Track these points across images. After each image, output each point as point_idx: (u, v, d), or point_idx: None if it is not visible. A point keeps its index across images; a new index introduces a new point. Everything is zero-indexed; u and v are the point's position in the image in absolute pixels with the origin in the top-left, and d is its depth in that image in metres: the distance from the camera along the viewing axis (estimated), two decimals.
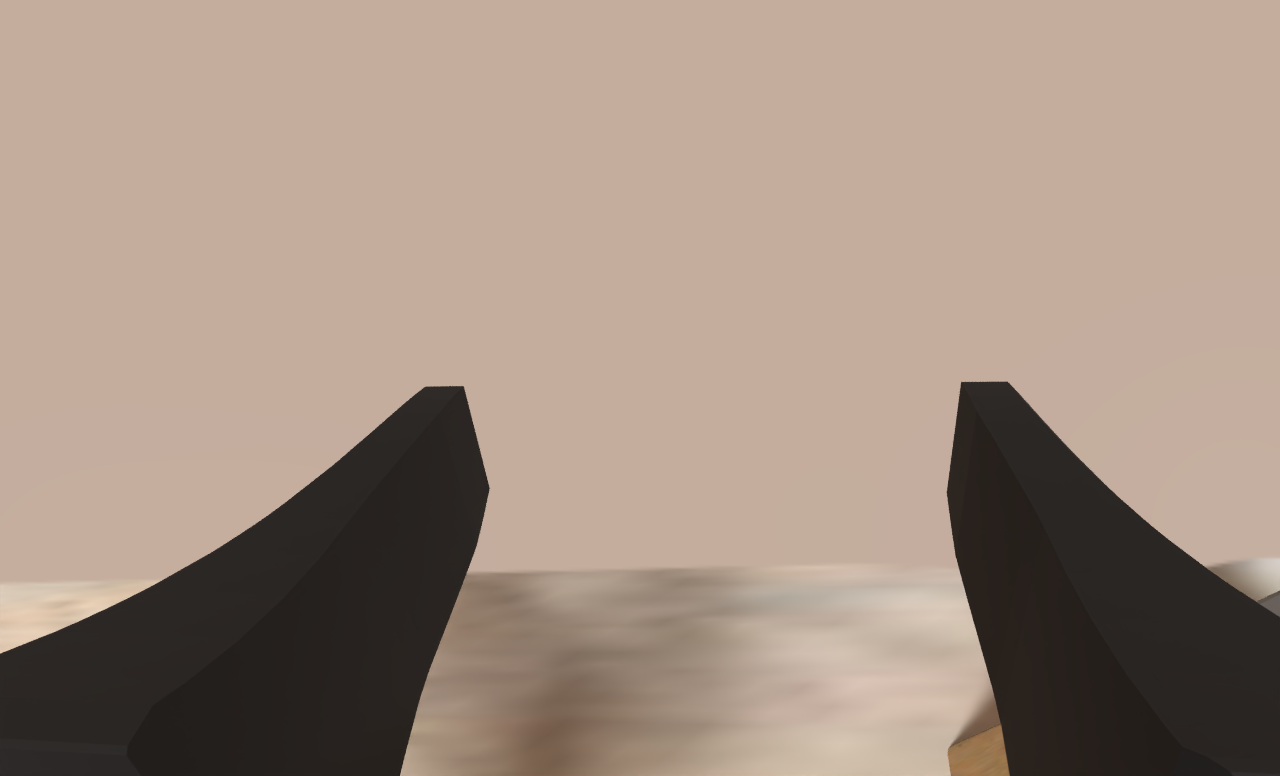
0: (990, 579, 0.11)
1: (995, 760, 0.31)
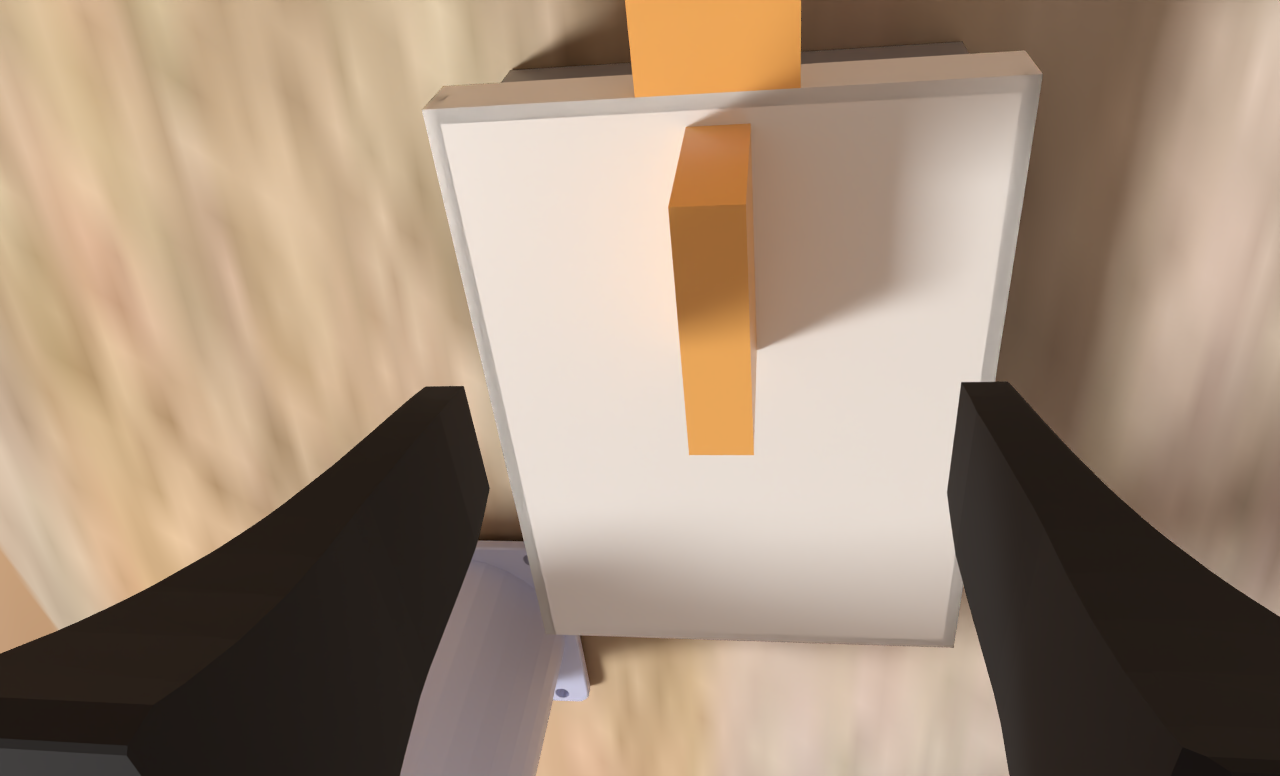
0: (990, 580, 0.11)
1: None
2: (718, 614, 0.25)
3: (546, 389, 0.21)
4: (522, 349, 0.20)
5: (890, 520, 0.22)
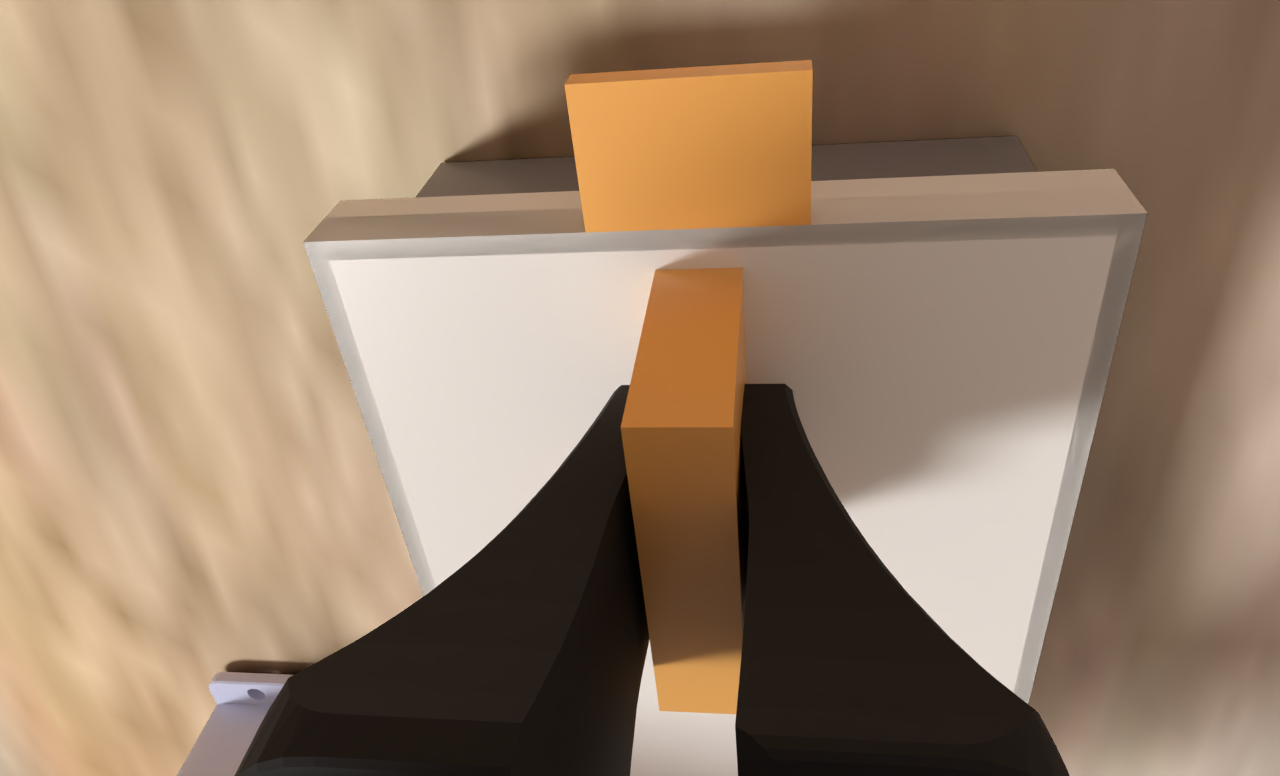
0: None
1: None
2: None
3: None
4: (454, 523, 0.16)
5: None
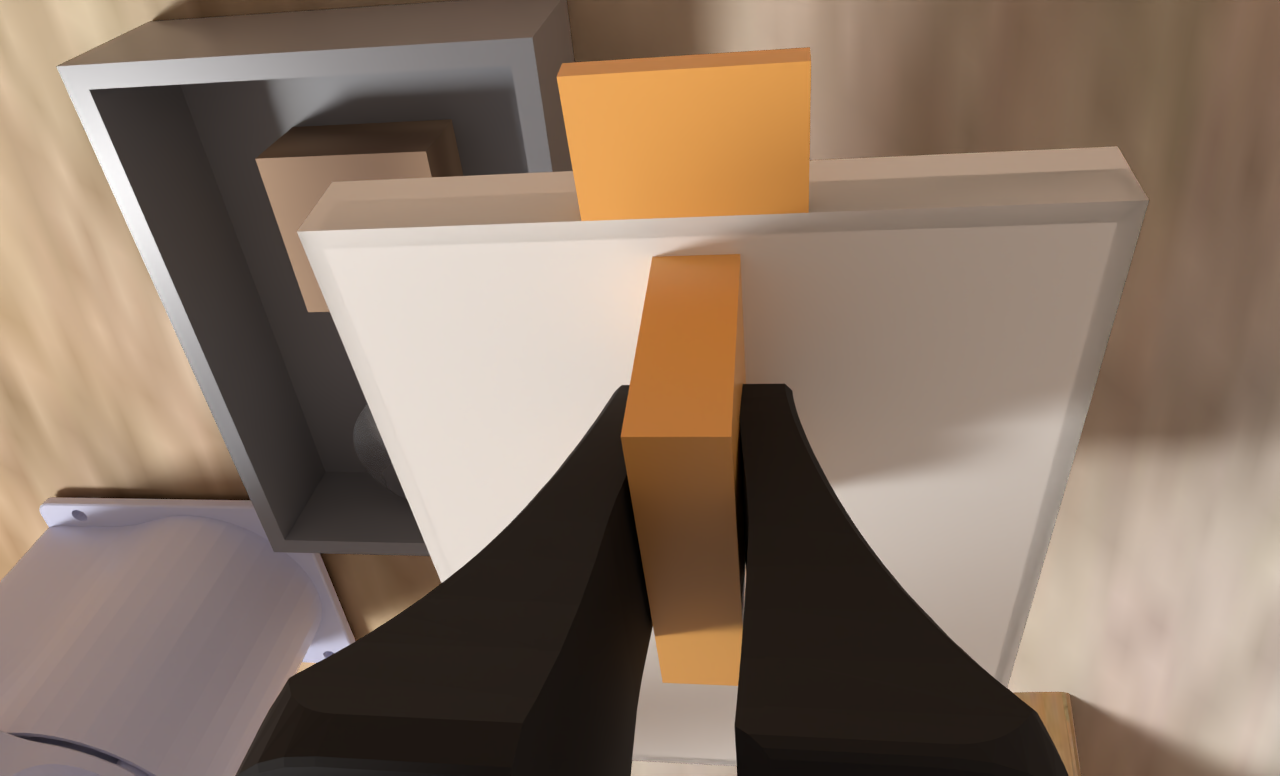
0: None
1: None
2: (708, 743, 0.21)
3: (491, 533, 0.17)
4: (459, 493, 0.16)
5: None
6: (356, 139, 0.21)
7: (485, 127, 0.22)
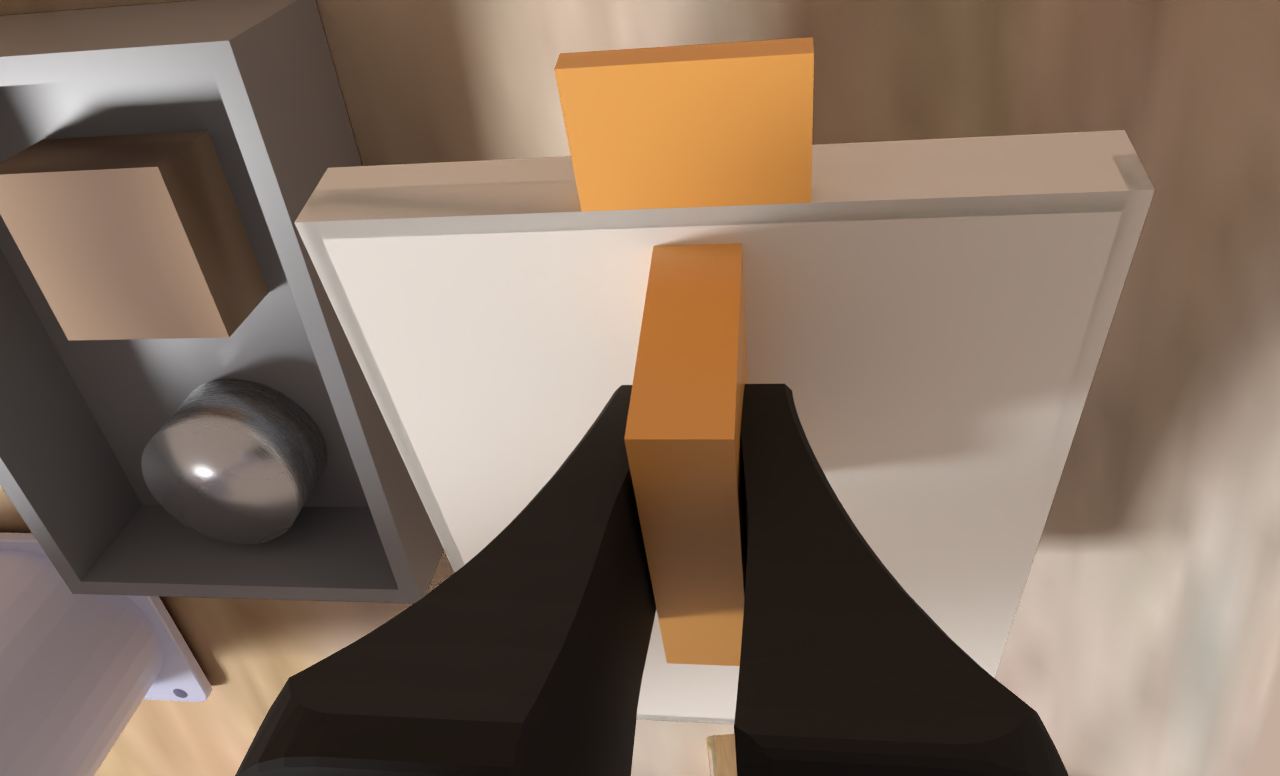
0: None
1: None
2: (710, 703, 0.22)
3: (495, 510, 0.17)
4: (463, 473, 0.17)
5: None
6: (97, 153, 0.19)
7: None
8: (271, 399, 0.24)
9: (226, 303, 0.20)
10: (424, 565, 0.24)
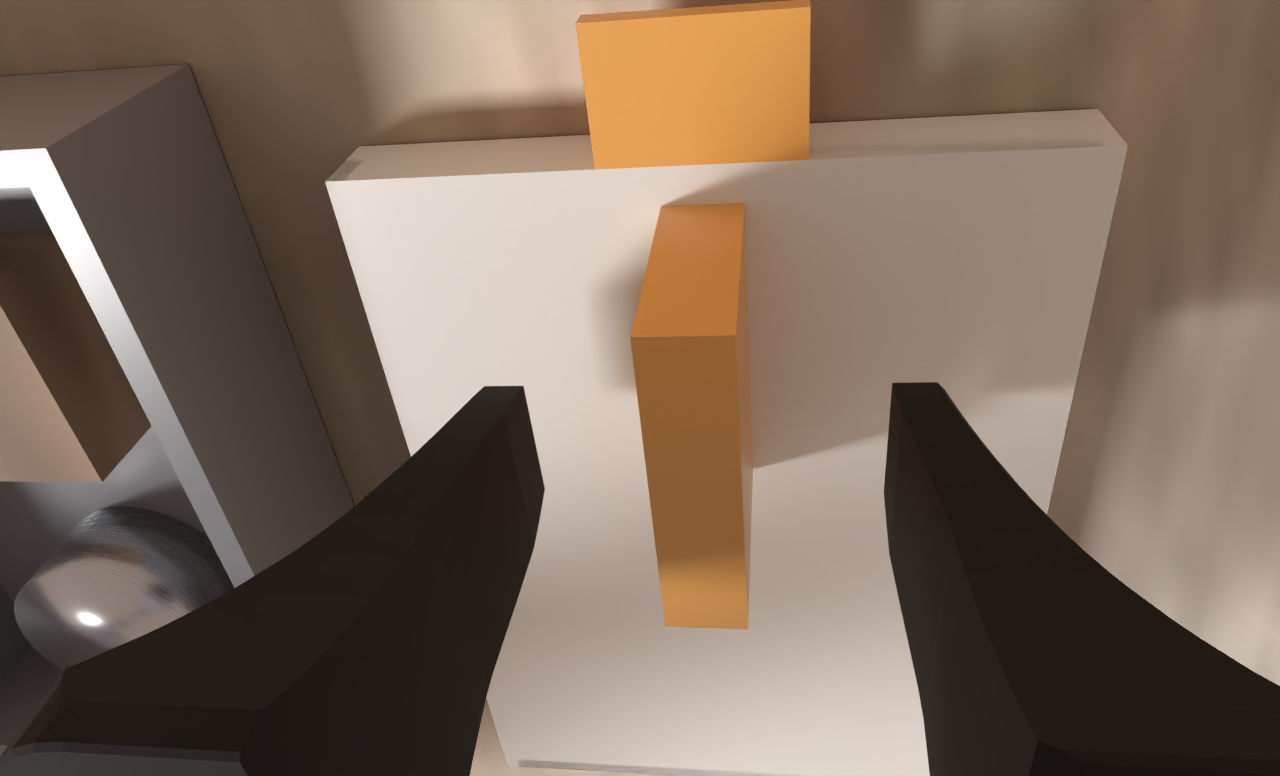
0: (914, 578, 0.11)
1: None
2: (708, 751, 0.21)
3: None
4: None
5: None
6: None
7: None
8: (173, 533, 0.20)
9: (98, 440, 0.16)
10: None
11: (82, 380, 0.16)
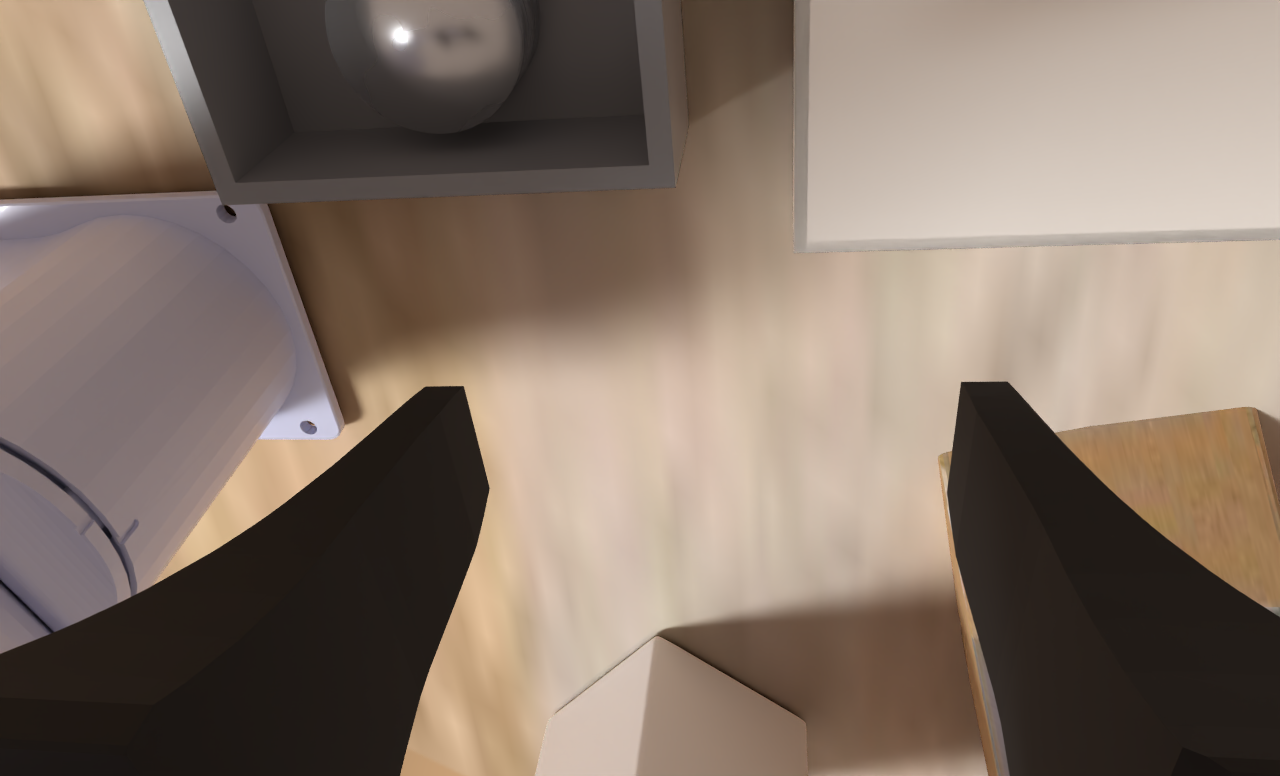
0: (990, 580, 0.11)
1: (1216, 482, 0.24)
2: (1024, 203, 0.20)
3: None
4: None
5: None
6: None
7: None
8: None
9: None
10: (676, 143, 0.19)
11: None
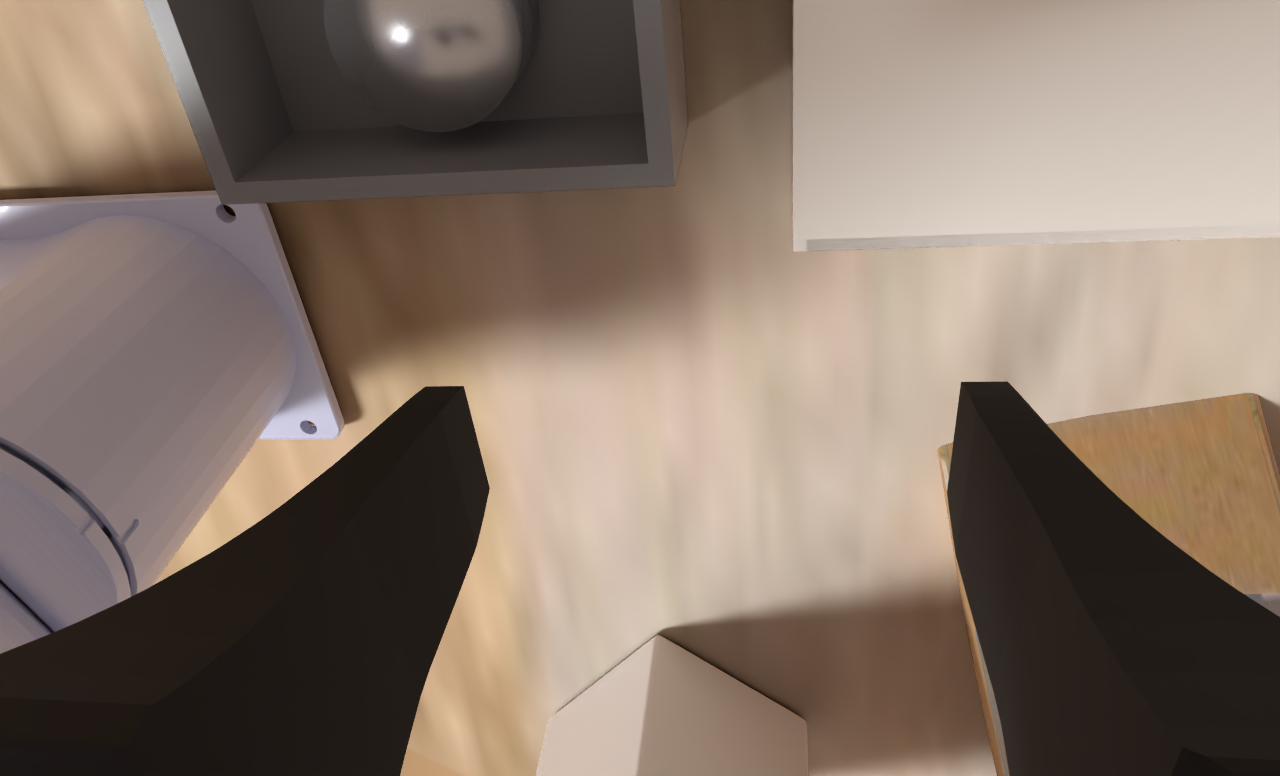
0: (990, 580, 0.11)
1: (1218, 468, 0.24)
2: (1023, 201, 0.20)
3: None
4: None
5: None
6: None
7: None
8: None
9: None
10: (675, 142, 0.19)
11: None
